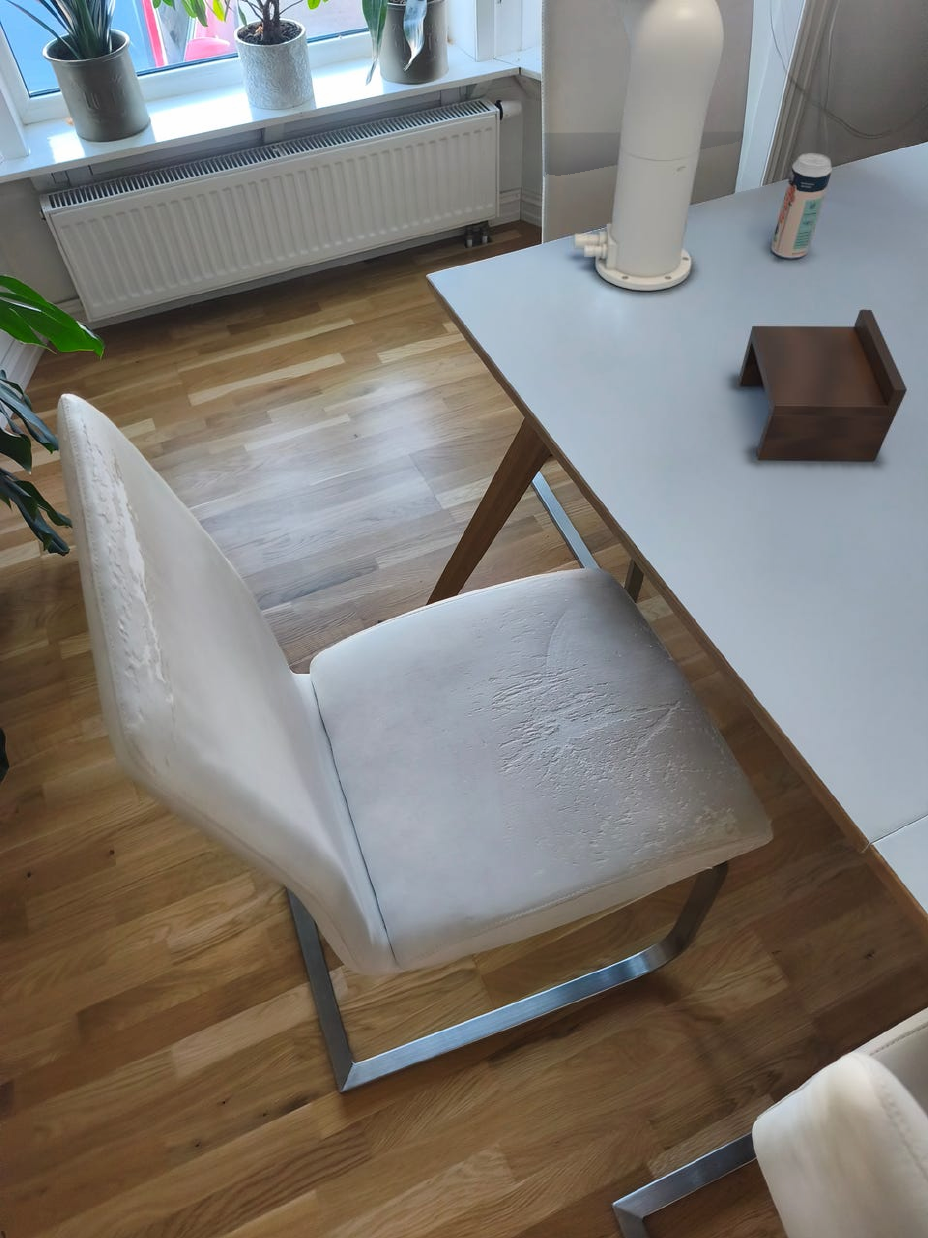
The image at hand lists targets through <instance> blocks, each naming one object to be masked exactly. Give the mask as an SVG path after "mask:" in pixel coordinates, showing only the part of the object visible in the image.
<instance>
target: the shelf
mask: <svg viewBox="0 0 928 1238" xmlns="http://www.w3.org/2000/svg"><path fill="white" fill-rule="evenodd" d="M737 380H738V385H739V386H740V387H764V391H765V394H766V398H767V402H768V406H769V411H768V414H767V415H766V416H767V417H766V420H765V423H764V427H763V429H762V432H761V436H760V439H759V442H758V446H757V449H756V452H755V454H756V456H757V457H756V458H757V460H758V461H803V462H804V461H807V462H809V461H810V462H811V461H812V462H813V461H814V462H874V463H875V461H876V459H877V457H878V455H879V452H880V450H881V448H882V446H883V444H884V442H885V439H886V437H887V435H888V432H889V431H890V428H891V427H892V424H893V421H894V420H895V417H896V415H897V414H898V412H899V408H900V406H901V404H902V402H903V399H904V397H905V396H906V393H907V391H908V389H907V387H906V384H905V381H904V380H903V378H902V375H901V373H900V371H899V369H898V367H897V364H896V362H895V360H894V357H893V355H892V353H891V351H890V349H889V347H888V344H887V342H886V339H885V337H884V335H883V333H882V330H881V328H880V325H879V324H878V322H877V320H876V316H875V315H874V313H873V311H872V309H860V310H859V311H858V315H857V317H856V320H855V323H854V325H853V326H851V325H849V326H846V325H845V326H839V325H835V326H833V325H831V326H830V325H826V326H825V325H820V326H819V325H803V326H802V325H752V326H751V330H750V334H749V338H748V342H747V345H746V350H745V353H744V356H743V360H742V364H741V368H740V372H739V376H738V379H737Z"/></svg>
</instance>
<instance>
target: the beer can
mask: <svg viewBox="0 0 928 1238" xmlns="http://www.w3.org/2000/svg"><path fill="white" fill-rule="evenodd" d="M832 171H833V168H832V161H831V159H830V157H828V156H826V155H825V154H822V153H815V152H808V153H807V152H806V153H802V154H801V155H799V156H798V158H796V160H795V161H794V163H792V166H791V169H790V172H789V177H788V181H787V184H786V188H785V191H784V196H783V200H782V204H781V208H780V211H779V215H778V219H777V223H776V226H775V230H774V234H773V238H772V242H771V246H770V247H771V251H772V252H773V253H775V254H776V256H778V257H780V258H783V259H787V260H794V259H798V258H800V257H804V256H805V255H807V253H808V251H809V248H810V245H811V242H812V238H813V235H814V232H815V228H816V225H817V222H818V218H819V215H820V211H821V208H822V206H823V201H824V198H825V195H826V192H827V188H828V185H829V182H830V178H831V175H832Z"/></svg>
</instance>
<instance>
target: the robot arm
mask: <svg viewBox="0 0 928 1238" xmlns="http://www.w3.org/2000/svg"><path fill="white" fill-rule="evenodd" d="M611 2H612V3H613V7H614V8H615V11H616V14H617V16H618V18H619V20H620V21H619V22H620V23H621V26H622V28H623V31H624V33H625V36H626V38H627V41H628V46H629V49H630V53H631V60H630V71H629V78H628V85H627V89H626V95H625V101H624V106H623V112H622V119H621V128H620V138H619V152H618V161H617V170H616V180H615V188H614V198H613V207H612V208H613V209H612V216H611V223H606V230H605V231H598V233H597V234H595V233H594V234H593V233H592V234H589V233H574V237H573V249H574V250H583V257H584V258H594V257H595V264H594V265H595V270H596V271H597V273H598V274H599V276H601V277H602V278H603V279H604V280H605V281H607V282H609V283H611V284H613V285H614V286H616V287H617V286H618V287H620V288H623V289H628V290H631V291H632V290H633V291H641V292H642V291H643V292H644V291H645V292H647V291H648V292H649V291H661V290H665V289H669V288H672V287H674V286H677V285H678V284H681V283H682V282H683V281H685V279H687V278H688V276H689V275H690V272H691V268H692V257H691V255H690V254H689V252H688V251H687V250H686V249H685V248H684V247H683V246H684V241H685V234H686V230H687V223H688V218H689V212H690V208H691V201H692V196H693V190H694V184H695V180H696V173H697V169H698V168H697V167H698V162H699V156H700V151H701V143H702V138H703V133H704V132H703V131H704V127H705V122H706V117H707V112H708V108H709V105H710V104H709V103H710V99H711V95H712V92H713V88H714V86H715V82H716V78H717V76H718V73H719V68H720V65H721V61H722V55H723V50H724V40H725V35H724V22H723V17H722V13H721V10H720V7H719V5H718V2H717V1H716V0H611Z"/></svg>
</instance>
